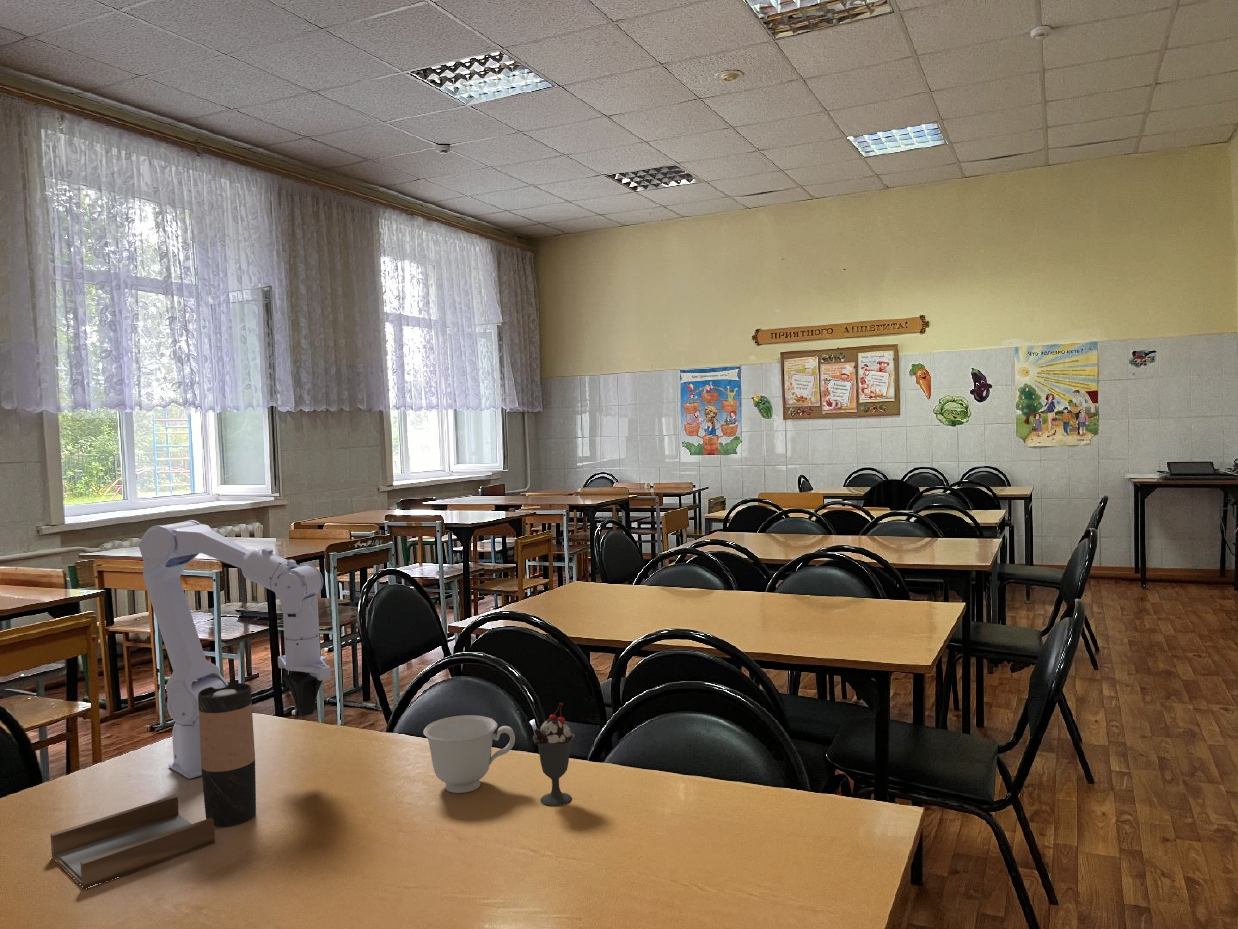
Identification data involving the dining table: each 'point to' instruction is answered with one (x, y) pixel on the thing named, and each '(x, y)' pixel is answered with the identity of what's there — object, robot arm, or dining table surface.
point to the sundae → (554, 755)
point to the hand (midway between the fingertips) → (306, 714)
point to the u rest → (128, 842)
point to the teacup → (464, 749)
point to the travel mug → (227, 754)
